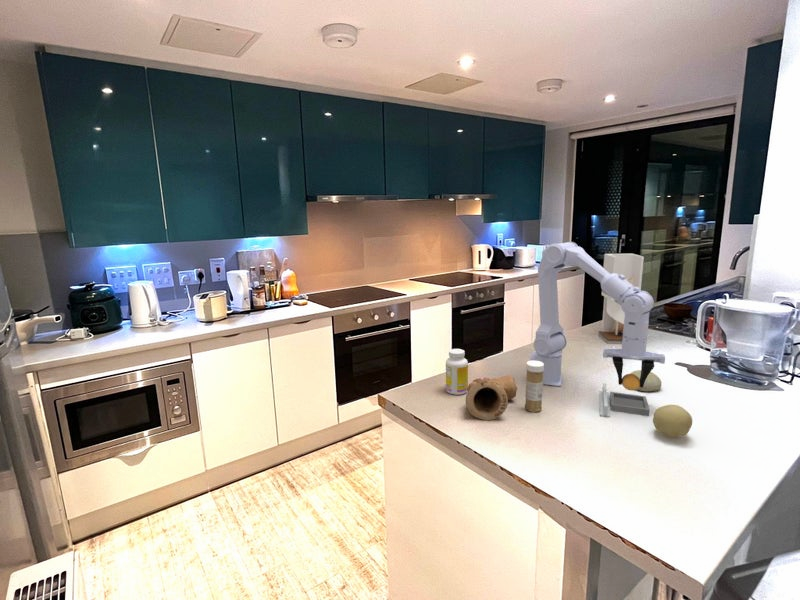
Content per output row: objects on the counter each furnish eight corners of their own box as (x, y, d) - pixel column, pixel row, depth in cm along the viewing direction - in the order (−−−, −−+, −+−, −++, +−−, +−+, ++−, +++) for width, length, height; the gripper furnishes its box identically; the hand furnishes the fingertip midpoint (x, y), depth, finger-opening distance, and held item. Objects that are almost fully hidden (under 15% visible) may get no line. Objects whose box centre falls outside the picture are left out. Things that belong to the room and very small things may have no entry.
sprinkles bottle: (533, 403, 120) (535, 358, 117) (545, 410, 116) (547, 363, 113) (521, 407, 118) (522, 361, 116) (532, 414, 114) (534, 366, 112)
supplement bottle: (470, 388, 132) (470, 349, 129) (464, 397, 126) (464, 355, 123) (449, 385, 134) (449, 346, 132) (442, 393, 129) (442, 353, 126)
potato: (690, 448, 97) (695, 415, 95) (650, 439, 101) (654, 408, 99) (689, 433, 103) (693, 402, 101) (652, 425, 107) (655, 395, 105)
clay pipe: (453, 417, 121) (477, 426, 107) (447, 380, 122) (470, 383, 108) (510, 405, 127) (540, 411, 113) (504, 369, 128) (533, 371, 114)
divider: (600, 416, 112) (601, 405, 112) (599, 392, 127) (600, 382, 126) (610, 417, 111) (611, 406, 111) (608, 393, 126) (609, 384, 125)
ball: (621, 391, 115) (622, 376, 114) (620, 385, 119) (621, 370, 118) (640, 394, 113) (641, 378, 112) (638, 387, 117) (640, 372, 116)
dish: (610, 410, 115) (611, 404, 115) (609, 397, 123) (610, 391, 123) (649, 416, 112) (649, 410, 111) (645, 401, 120) (645, 396, 119)
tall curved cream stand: (598, 335, 182) (604, 253, 175) (624, 336, 180) (632, 253, 173) (607, 343, 171) (614, 256, 164) (635, 344, 169) (643, 256, 162)
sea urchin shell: (669, 388, 124) (650, 369, 124) (647, 404, 126) (628, 385, 126) (657, 376, 133) (639, 358, 133) (636, 392, 135) (618, 374, 135)
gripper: (605, 338, 113) (601, 386, 115) (668, 344, 107) (663, 394, 110) (604, 331, 119) (601, 377, 122) (664, 336, 113) (659, 384, 116)
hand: (630, 384), depth 116 cm, fingers closed on ball, 4 cm apart
